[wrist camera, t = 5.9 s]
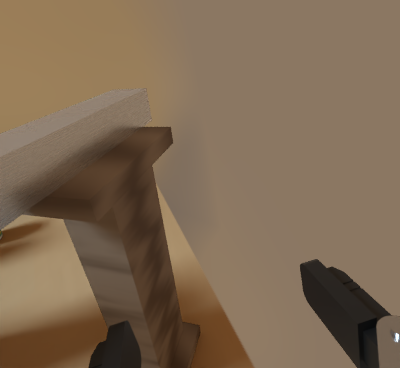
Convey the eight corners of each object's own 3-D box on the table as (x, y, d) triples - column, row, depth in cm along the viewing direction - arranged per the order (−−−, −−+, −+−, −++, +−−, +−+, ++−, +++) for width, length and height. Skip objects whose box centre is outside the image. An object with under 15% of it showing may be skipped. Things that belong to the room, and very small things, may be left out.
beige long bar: (-248, 409, 7) (-382, 336, 5) (-310, 373, 8) (-440, 304, 6) (151, 120, 27) (146, 88, 25) (120, 120, 28) (113, 89, 26)
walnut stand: (170, 438, 29) (89, 199, 14) (97, 414, 31) (-35, 189, 17) (200, 331, 39) (170, 126, 24) (143, 319, 41) (85, 126, 27)
